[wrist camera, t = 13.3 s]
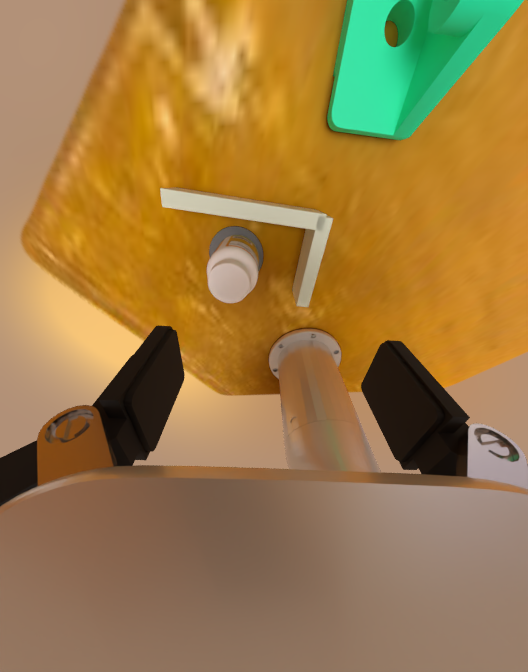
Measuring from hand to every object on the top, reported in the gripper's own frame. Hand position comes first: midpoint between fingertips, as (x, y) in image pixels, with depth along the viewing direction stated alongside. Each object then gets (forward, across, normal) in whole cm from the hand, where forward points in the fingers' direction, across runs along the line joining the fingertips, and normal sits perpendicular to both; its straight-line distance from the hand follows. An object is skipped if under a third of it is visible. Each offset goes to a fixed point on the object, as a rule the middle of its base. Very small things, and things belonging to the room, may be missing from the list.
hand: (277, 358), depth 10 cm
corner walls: (+22, +3, 0) cm, 22 cm away
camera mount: (+22, -8, -18) cm, 29 cm away
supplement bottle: (+22, +4, +1) cm, 22 cm away
